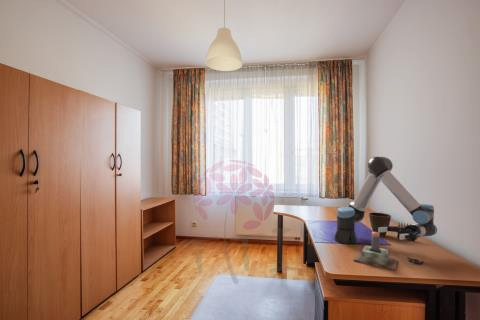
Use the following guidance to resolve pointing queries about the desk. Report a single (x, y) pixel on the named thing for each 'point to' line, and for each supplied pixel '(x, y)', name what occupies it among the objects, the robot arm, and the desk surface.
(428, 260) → the desk surface
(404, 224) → the ammunition clip
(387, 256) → the socket
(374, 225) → the plant pot
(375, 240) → the peg
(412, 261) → the blender logo cutout
